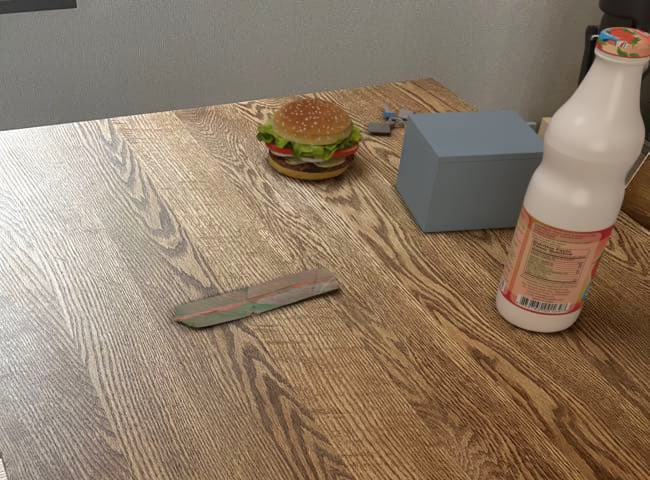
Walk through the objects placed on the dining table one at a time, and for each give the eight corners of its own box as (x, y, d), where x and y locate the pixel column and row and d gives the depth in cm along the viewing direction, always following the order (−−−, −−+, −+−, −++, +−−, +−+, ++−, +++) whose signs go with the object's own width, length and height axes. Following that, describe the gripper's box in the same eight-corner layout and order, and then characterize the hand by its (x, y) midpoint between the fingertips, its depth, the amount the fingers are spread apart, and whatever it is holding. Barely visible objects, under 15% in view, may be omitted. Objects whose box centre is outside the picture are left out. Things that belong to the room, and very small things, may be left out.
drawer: (572, 173, 115) (591, 115, 109) (608, 213, 108) (631, 152, 102) (441, 180, 113) (453, 120, 107) (469, 221, 105) (485, 159, 99)
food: (312, 133, 123) (317, 76, 118) (374, 169, 116) (383, 110, 110) (238, 155, 118) (239, 95, 112) (298, 194, 111) (303, 132, 105)
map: (165, 314, 92) (165, 306, 91) (323, 265, 98) (323, 258, 97) (184, 338, 89) (184, 331, 88) (345, 286, 95) (346, 279, 94)
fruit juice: (478, 294, 95) (553, 21, 74) (548, 283, 97) (641, 14, 76) (520, 340, 89) (614, 58, 69) (594, 327, 92) (707, 49, 71)
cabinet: (495, 181, 115) (514, 109, 108) (530, 226, 107) (553, 151, 99) (395, 186, 113) (407, 113, 106) (423, 232, 105) (439, 156, 97)
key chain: (376, 138, 123) (377, 132, 122) (343, 118, 127) (343, 113, 126) (445, 119, 128) (447, 114, 127) (411, 101, 132) (411, 96, 132)
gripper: (586, -44, 96) (528, 160, 113) (641, -10, 87) (569, 205, 105) (646, -45, 97) (579, 157, 114) (705, -11, 88) (623, 202, 106)
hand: (574, 180), depth 110 cm, fingers closed
